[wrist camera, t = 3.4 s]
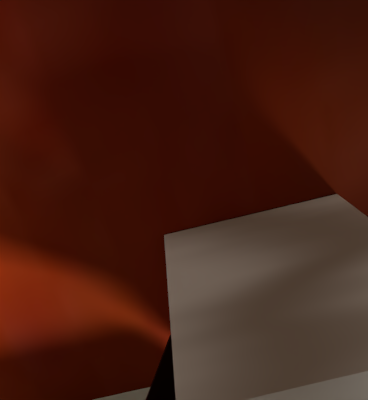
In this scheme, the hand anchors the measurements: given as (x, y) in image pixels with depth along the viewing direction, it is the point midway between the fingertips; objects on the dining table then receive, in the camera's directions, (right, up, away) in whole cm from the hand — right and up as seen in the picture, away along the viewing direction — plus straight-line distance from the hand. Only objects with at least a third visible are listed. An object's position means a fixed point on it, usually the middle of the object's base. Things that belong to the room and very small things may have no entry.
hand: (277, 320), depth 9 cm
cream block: (0, +1, +1) cm, 2 cm away
